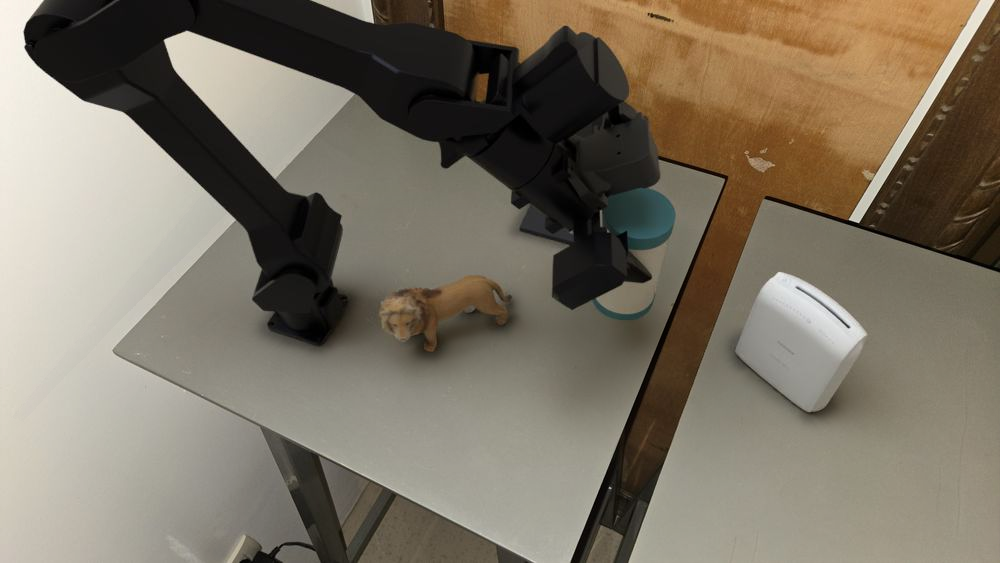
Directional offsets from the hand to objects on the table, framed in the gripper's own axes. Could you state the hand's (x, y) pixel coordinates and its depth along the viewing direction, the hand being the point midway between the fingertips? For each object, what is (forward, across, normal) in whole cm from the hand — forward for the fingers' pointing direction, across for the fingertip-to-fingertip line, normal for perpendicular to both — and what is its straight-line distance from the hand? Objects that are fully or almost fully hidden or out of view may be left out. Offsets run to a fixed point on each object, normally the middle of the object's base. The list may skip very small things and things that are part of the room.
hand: (645, 252), depth 69 cm
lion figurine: (-4, -2, +22) cm, 23 cm away
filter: (+4, 0, +6) cm, 7 cm away
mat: (+5, +16, +13) cm, 21 cm away
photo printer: (+20, -4, -2) cm, 20 cm away
